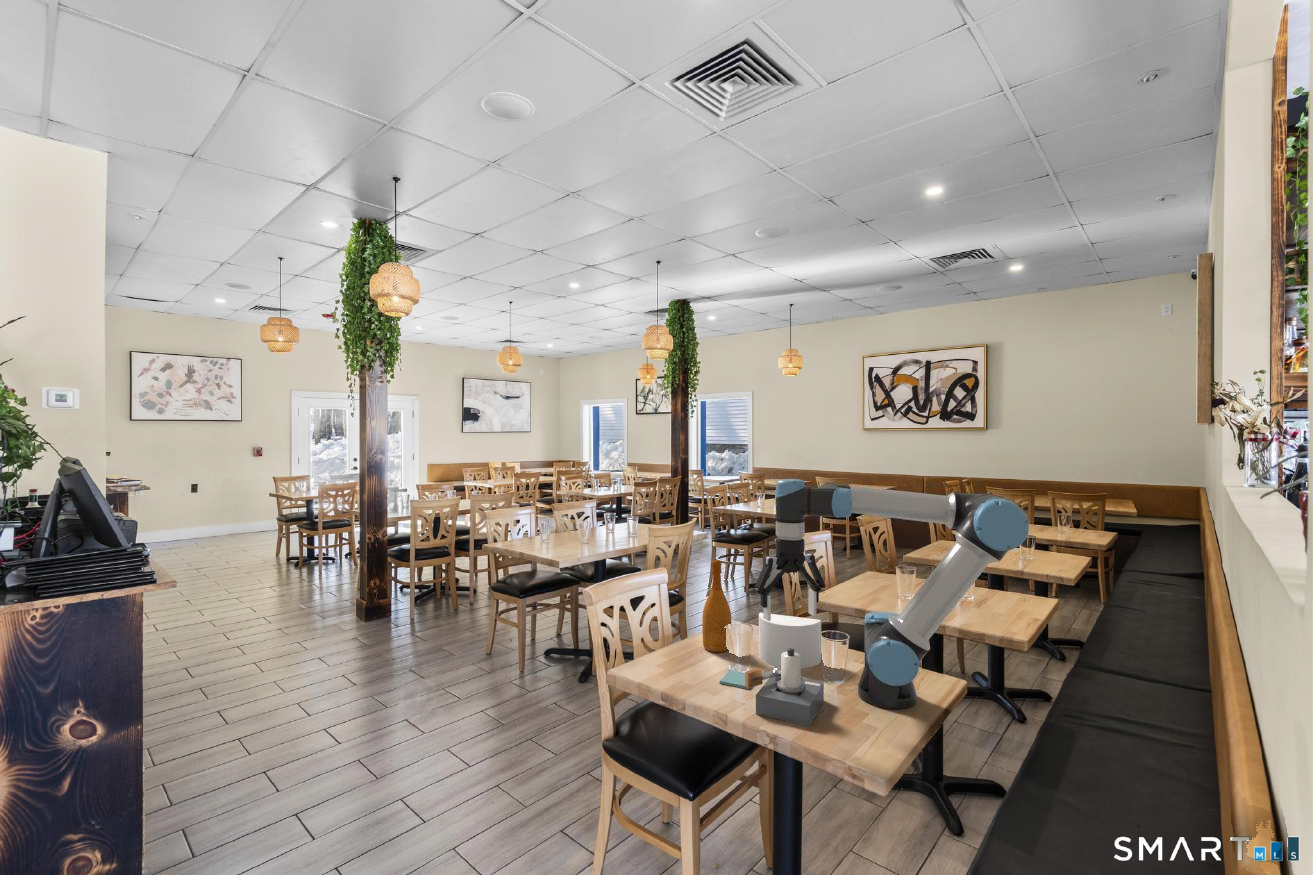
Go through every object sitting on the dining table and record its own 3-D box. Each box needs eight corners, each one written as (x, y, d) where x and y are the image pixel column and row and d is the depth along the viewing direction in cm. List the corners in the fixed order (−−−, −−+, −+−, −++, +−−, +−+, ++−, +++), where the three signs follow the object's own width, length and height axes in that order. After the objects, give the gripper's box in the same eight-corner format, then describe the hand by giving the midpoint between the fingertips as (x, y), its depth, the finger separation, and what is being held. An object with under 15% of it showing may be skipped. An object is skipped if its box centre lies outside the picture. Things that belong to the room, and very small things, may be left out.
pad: (758, 677, 181) (758, 675, 181) (749, 689, 173) (749, 686, 173) (730, 672, 185) (730, 669, 185) (719, 683, 177) (719, 680, 177)
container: (826, 650, 203) (826, 611, 203) (815, 672, 185) (815, 629, 185) (767, 642, 212) (767, 604, 211) (751, 662, 193) (751, 621, 193)
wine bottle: (726, 642, 212) (726, 556, 212) (735, 652, 202) (734, 562, 202) (699, 644, 210) (699, 557, 210) (706, 654, 201) (706, 563, 200)
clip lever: (750, 689, 160) (750, 674, 160) (743, 685, 163) (743, 670, 163) (799, 674, 170) (799, 659, 170) (791, 670, 173) (791, 656, 172)
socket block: (823, 700, 166) (823, 677, 166) (809, 725, 152) (809, 700, 152) (773, 690, 173) (773, 668, 172) (755, 713, 158) (755, 689, 158)
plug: (806, 704, 164) (807, 647, 163) (800, 715, 157) (800, 656, 157) (781, 699, 167) (781, 643, 167) (774, 709, 161) (774, 651, 160)
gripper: (823, 532, 169) (822, 608, 169) (741, 537, 161) (741, 617, 162) (838, 537, 162) (838, 616, 162) (753, 542, 154) (753, 625, 155)
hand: (790, 617), depth 162 cm, fingers open, 13 cm apart
